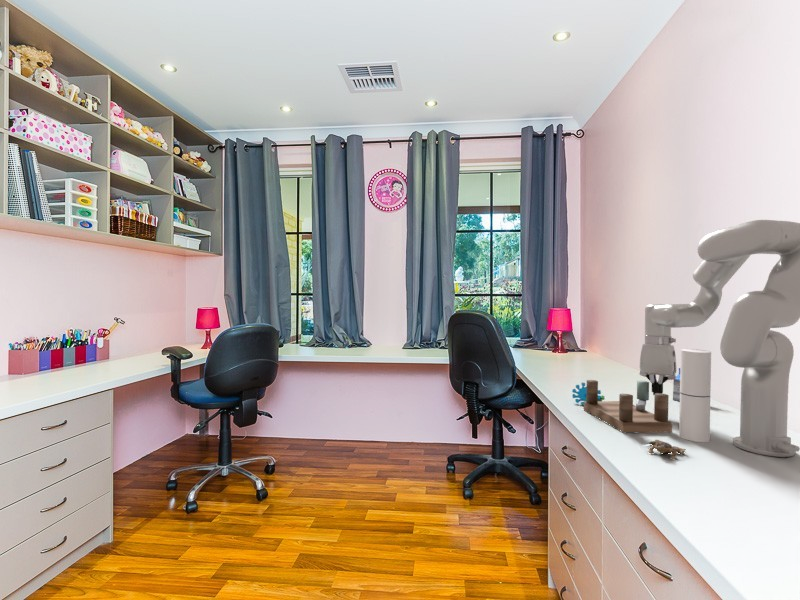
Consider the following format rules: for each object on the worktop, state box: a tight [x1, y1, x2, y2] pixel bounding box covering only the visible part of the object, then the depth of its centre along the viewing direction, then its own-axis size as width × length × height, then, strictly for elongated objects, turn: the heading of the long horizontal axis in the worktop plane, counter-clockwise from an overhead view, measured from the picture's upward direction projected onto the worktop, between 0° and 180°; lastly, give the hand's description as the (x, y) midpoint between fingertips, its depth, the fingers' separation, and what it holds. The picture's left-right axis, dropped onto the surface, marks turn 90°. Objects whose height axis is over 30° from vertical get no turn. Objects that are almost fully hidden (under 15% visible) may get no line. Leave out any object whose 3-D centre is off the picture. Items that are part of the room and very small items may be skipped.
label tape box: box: [672, 367, 680, 402], centre depth 160 cm, size 9×4×12 cm, turn 28°
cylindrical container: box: [678, 348, 712, 443], centre depth 121 cm, size 7×7×25 cm
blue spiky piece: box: [572, 382, 606, 406], centre depth 158 cm, size 11×6×10 cm
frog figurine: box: [647, 439, 687, 460], centre depth 110 cm, size 12×12×4 cm
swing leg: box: [635, 380, 650, 411], centre depth 142 cm, size 13×4×8 cm, turn 146°
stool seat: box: [583, 379, 673, 433], centre depth 137 cm, size 24×15×11 cm, turn 3°
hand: (657, 394), depth 143 cm, fingers closed
